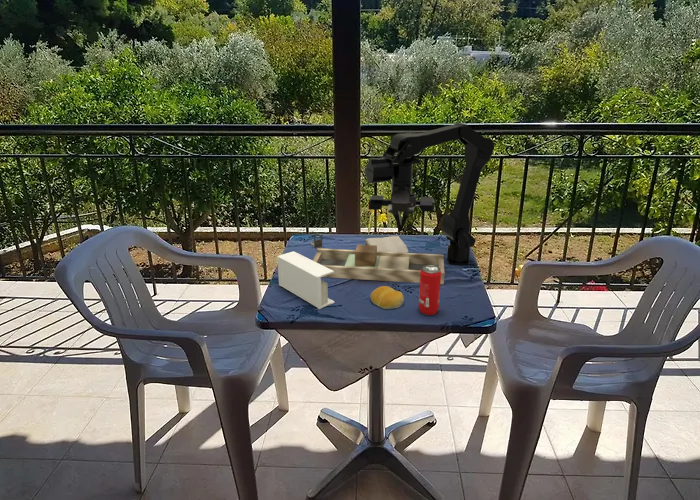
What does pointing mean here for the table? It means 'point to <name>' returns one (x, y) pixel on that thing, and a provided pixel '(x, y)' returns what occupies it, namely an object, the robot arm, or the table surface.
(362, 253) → the walnut block
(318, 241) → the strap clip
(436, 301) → the beverage can
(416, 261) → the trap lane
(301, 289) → the white plastic beam
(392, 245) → the washcloth
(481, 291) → the table surface
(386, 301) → the bread roll
